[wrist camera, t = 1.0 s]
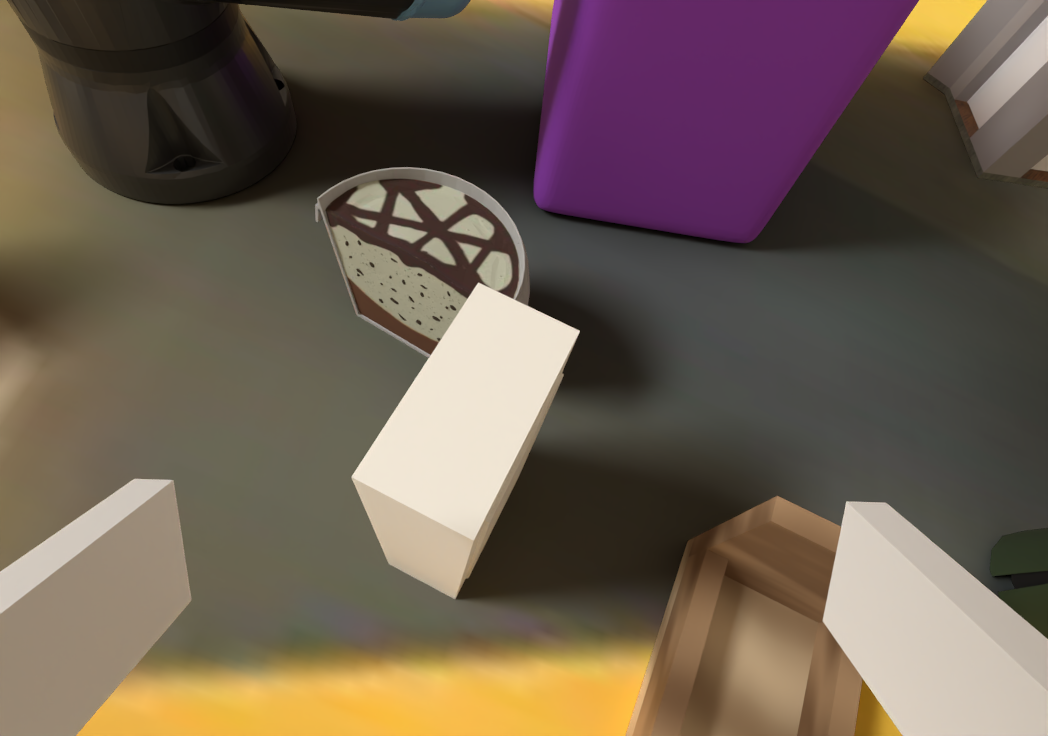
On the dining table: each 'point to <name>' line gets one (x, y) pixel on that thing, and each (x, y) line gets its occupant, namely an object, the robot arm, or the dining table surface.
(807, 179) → the dining table surface
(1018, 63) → the grey tall angular block
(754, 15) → the shopping bag
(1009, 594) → the character mug
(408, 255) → the food container
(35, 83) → the dining table surface
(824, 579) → the wooden holder
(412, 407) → the white rectangular box
